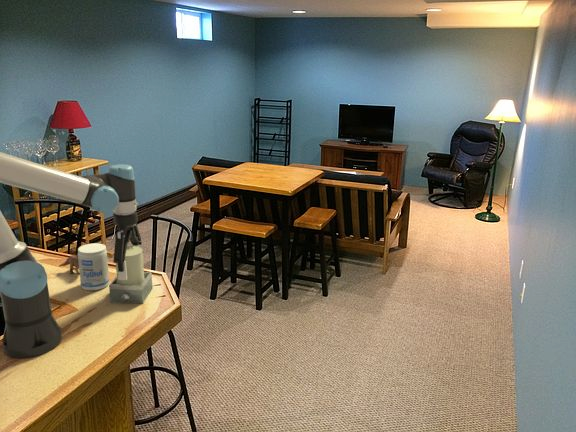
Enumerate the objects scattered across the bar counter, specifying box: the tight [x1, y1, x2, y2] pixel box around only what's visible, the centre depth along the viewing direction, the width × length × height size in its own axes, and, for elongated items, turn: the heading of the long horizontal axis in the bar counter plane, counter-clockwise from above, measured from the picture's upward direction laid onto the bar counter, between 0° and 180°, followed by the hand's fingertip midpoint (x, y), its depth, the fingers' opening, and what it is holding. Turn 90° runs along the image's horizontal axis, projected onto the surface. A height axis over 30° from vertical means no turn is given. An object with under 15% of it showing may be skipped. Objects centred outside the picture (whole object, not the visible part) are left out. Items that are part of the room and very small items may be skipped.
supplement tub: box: [77, 242, 110, 291], centre depth 170 cm, size 10×10×15 cm
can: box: [115, 245, 145, 285], centre depth 162 cm, size 9×9×12 cm
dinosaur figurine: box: [58, 253, 80, 276], centre depth 181 cm, size 14×6×9 cm, turn 80°
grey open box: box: [108, 271, 153, 304], centre depth 164 cm, size 12×11×6 cm
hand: (129, 270), depth 163 cm, fingers open, 13 cm apart
